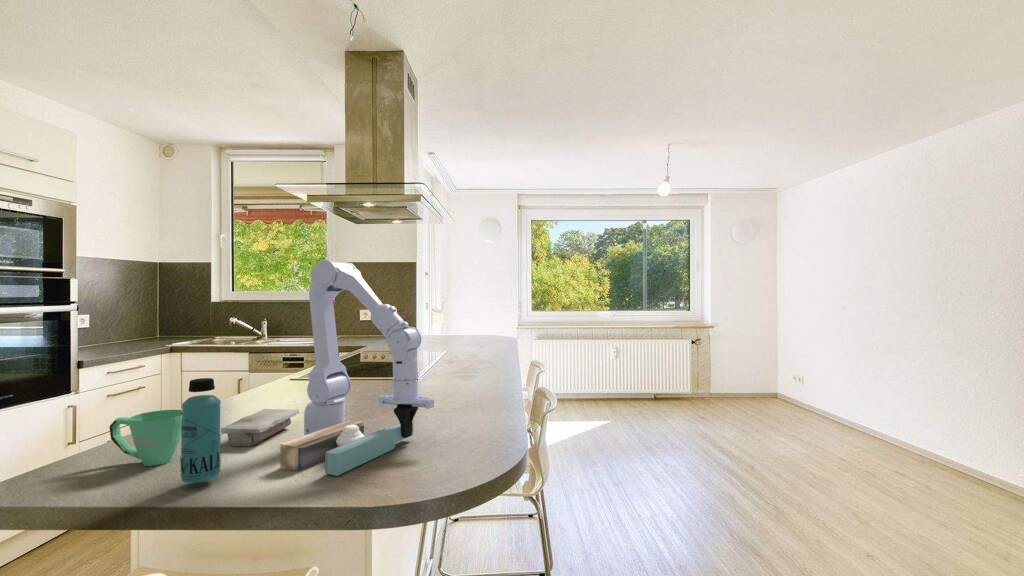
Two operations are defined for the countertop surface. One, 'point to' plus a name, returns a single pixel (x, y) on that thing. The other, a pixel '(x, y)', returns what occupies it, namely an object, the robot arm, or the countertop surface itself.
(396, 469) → the countertop surface
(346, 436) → the white ribbed dome
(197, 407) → the beverage bottle
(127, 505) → the countertop surface
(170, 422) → the mug
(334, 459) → the movable jaw
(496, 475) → the countertop surface
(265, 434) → the grey box
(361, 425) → the wooden block
